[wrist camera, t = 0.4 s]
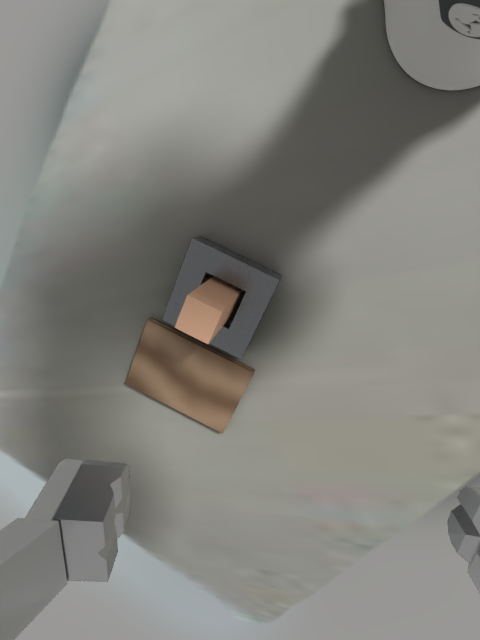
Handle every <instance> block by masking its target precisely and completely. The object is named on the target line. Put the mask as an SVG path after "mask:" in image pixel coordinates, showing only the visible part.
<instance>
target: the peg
mask: <svg viewBox="0 0 480 640" xmlns="http://www.w3.org/2000/svg"><path fill="white" fill-rule="evenodd" d="M241 292H242V289H240V288H238V287H236V286H234V285H232V284H230V283H227V282H225V281H223V280H221V279H219V278H217V277H215V276H213V277H212V278H210V279H209V280H207V281H206V282H205V283H203V284H202V285H200V286H199V287H198V288H196V289H195V290H193V291H192V292H191V293H189V294H188V295H187V297H186V299H185V302H184V304H183V307H182V310H181V312H180V315H179V317H178V320H177V322H176V325H175V328H176V329H178V330H180V331H182V332H184V333H186V334H188V335H190V336H192V337H194V338H196V339H198V340H200V341H202V342H204V343H206V344H209V343H210V341H211V340H212V339H213V338H214V336H215V335H216V334H217V333H218V331H219V330H220V329H221V328H222V326H223V325H224V324H225V323H226V321H227V320H228V319H229V318H230V316H231V314H232V312H233V310H234V308H235V306H236V303H237V301H238V299H239V297H240V295H241Z"/></svg>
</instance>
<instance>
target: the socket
mask: <svg viewBox="0 0 480 640" xmlns="http://www.w3.org/2000/svg"><path fill="white" fill-rule="evenodd" d="M209 274H211V275H213V276H215V277H217V278H219V279H221V280H223V281H225V282H227V283H230V284H232V285H234V286H236V287H238V288H240V289H242V290H244V291H246V293H245V295H244V297H243V299H242V302H241V304H240V306H239V308H238V310H237V313H236V315H235V317H234V319H233V321H232V322H231V321H229V320H227V321H226V323H225V324H224V325H223V326H222V328H221V329H220V330H219V331H218V333H217V334H216V335H215V336H214V338H213V339H212V340H211V341H210V343H209V344H211V345H213V346H215V347H217V348H219V349H221V350H223V351H225V352H227V353H229V354H231V355H233V356H235V357H237V358H239V359H241V358H242V356H243V355H244V353H245V351H246V349H247V347H248V345H249V342H250V340H251V338H252V336H253V334H254V332H255V330H256V328H257V326H258V324H259V322H260V320H261V318H262V316H263V314H264V312H265V310H266V308H267V306H268V304H269V302H270V299H271V297H272V295H273V293H274V291H275V289H276V287H277V285H278V283H279V281H280V279H281V277H282V276H281V275H279V274H277V273H275V272H273V271H271V270H269V269H266V268H264V267H262V266H260V265H258V264H256V263H254V262H252V261H250V260H248V259H246V258H244V257H242V256H240V255H237V254H235V253H233V252H231V251H229V250H227V249H225V248H223V247H221V246H219V245H217V244H215V243H213V242H210V241H208V240H206V239H204V238H202V237H200V236H197V237H194V238H192V240H191V242H190V245H189V248H188V251H187V253H186V256H185V259H184V261H183V264H182V267H181V269H180V272H179V275H178V278H177V280H176V283H175V286H174V288H173V291H172V294H171V297H170V299H169V302H168V305H167V307H166V310H165V313H164V315H163V318H162V320H164V321H165V322H167V323H169V324H171V325H173V326H175V325H176V322H177V320H178V317H179V315H180V312H181V310H182V307H183V304H184V302H185V299H186V297H187V295H188V294H189V293H191V292H192V291H193V290H195V289H196V288H198V287H199V286H200V285H202V284H203V283H205V282H206V281H207V279H208V276H209Z"/></svg>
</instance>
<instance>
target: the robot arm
mask: <svg viewBox="0 0 480 640" xmlns="http://www.w3.org/2000/svg"><path fill="white" fill-rule="evenodd" d="M384 6H385V22H386V32H387V37H388V41H389V45H390V48H391V50H392V52H393V55H394V57H395V58H396V60H397V62H398V63H399V65H400V66H401V67H402V68H403V70H404V71H405V72H406V73H407V74H408V75H410V76H411V77H412V78H413V79H415V80H416V81H418V82H420V83H422V84H424V85H426V86H429V87H432V88H436V89H441V90H463V89H469V88H473V87H477V86H480V0H384ZM129 477H130V470H129V465H128V464H125V463H114V462H103V461H92V460H77V459H66V458H64V459H63V460H62V461H61V462H60V463H58V465H57V467H56V468H55V470H54V472H53V473H52V475H51V476H50V478H49V480H48V481H47V483H46V485H45V486H44V488H43V490H42V491H41V493H40V495H39V496H38V498H37V499H36V501H35V503H34V504H33V506H32V507H31V509H30V511H29V512H28V514H27V516H26V517H25V519H23V518H17V519H16V520H14V521H13V522H12V523H10V524H9V525H7V526H6V527H4V528H3V529H1V530H0V640H15V639H16V638H17V636H18V635H19V634H20V633H21V632H22V631H23V630H24V629H25V628H26V627H27V626H28V625H29V624H30V623H31V622H32V621H33V620H34V619H35V617H36V616H37V615H38V614H39V613H40V612H41V611H42V610H43V609H44V608H45V607H46V606H47V605H48V604H49V603H50V602H51V600H52V599H53V598H54V597H55V596H56V595H57V594H58V593H59V592H60V591H61V590H62V589H63V588H64V587H65V586H66V585H67V581H96V582H108V580H109V577H110V574H111V571H112V568H113V565H114V561H115V558H116V555H117V552H118V548H117V538H118V537H120V536H121V535H122V534H123V533H124V530H125V527H126V523H127V520H128V514H129V509H130V500H131V491H130V489H129V488H128V487H127V483H128V480H129ZM457 498H458V500H459V503H460V505H459V506H457V507H456V508H455V509H453V510H452V511H451V513H450V516H449V518H448V533H449V536H450V540H451V543H452V544H453V546H454V548H455V550H456V552H457V553H458V554H459V555H460V556H461V557H462V558H464V559H465V560H466V561H467V562H468V563H469V566H468V574H469V575H470V577H471V579H472V581H473V582H474V584H475V586H476V588H477V590H478V591H479V593H480V487H471V486H465V487H464V488H462V489H461V490H460V492H459V494H458V496H457Z"/></svg>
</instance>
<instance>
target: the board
mask: <svg viewBox="0 0 480 640" xmlns="http://www.w3.org/2000/svg"><path fill="white" fill-rule="evenodd" d="M254 371H255V370H254V369H252V368H250V367H248V366H246V365H244V364H242V363H240V362H238V361H236V360H234V359H232V358H230V357H228V356H226V355H224V354H222V353H220V352H218V351H216V350H214V349H212V348H210V347H208V346H206V345H204V344H202V343H200V342H198V341H196V340H194V339H192V338H190V337H188V336H186V335H184V334H182V333H180V332H178V331H176V330H174V329H172V328H170V327H168V326H166V325H164V324H162V323H160V322H158V321H156V320H154V319H152V318H149V319H148V320H147V322H146V325H145V328H144V331H143V334H142V337H141V339H140V342H139V345H138V348H137V351H136V354H135V356H134V359H133V362H132V365H131V368H130V371H129V373H128V376H127V379H126V382H125V383H126V384H127V385H129V386H131V387H133V388H135V389H137V390H139V391H141V392H143V393H145V394H147V395H149V396H151V397H153V398H155V399H157V400H158V401H160V402H162V403H164V404H166V405H168V406H170V407H172V408H174V409H176V410H178V411H180V412H182V413H184V414H186V415H188V416H189V417H191V418H193V419H195V420H197V421H199V422H201V423H203V424H205V425H207V426H209V427H211V428H213V429H215V430H217V431H219V432H220V433H222V434H223V432H224V430H225V428H226V426H227V424H228V422H229V420H230V418H231V417H232V415H233V413H234V411H235V409H236V407H237V405H238V403H239V401H240V399H241V397H242V395H243V393H244V391H245V389H246V387H247V385H248V383H249V381H250V380H251V378H252V376H253V374H254Z"/></svg>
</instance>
